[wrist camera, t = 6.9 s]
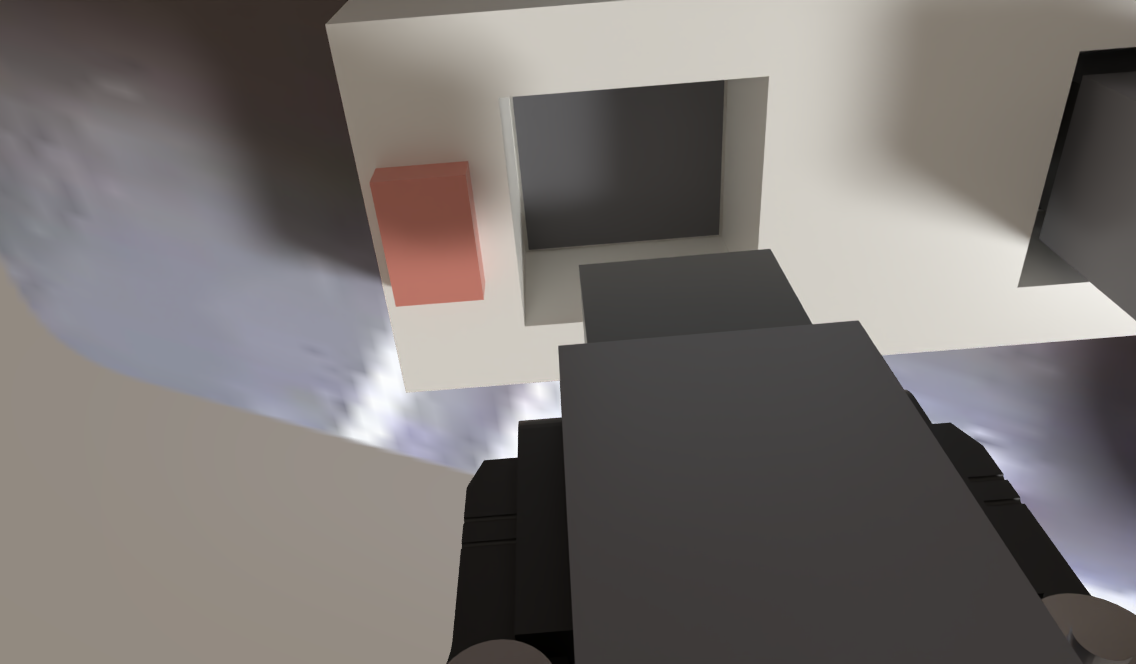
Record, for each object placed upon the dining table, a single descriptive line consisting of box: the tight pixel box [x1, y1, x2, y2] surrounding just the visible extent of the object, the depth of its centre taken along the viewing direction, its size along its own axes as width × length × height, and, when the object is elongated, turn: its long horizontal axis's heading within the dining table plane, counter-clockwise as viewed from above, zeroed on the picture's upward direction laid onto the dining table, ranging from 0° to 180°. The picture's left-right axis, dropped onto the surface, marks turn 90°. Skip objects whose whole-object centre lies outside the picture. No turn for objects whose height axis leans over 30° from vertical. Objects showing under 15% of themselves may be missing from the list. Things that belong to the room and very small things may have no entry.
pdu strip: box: [325, 0, 1136, 393], centre depth 20 cm, size 9×24×6 cm, turn 94°
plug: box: [558, 249, 1083, 664], centre depth 10 cm, size 4×4×10 cm
